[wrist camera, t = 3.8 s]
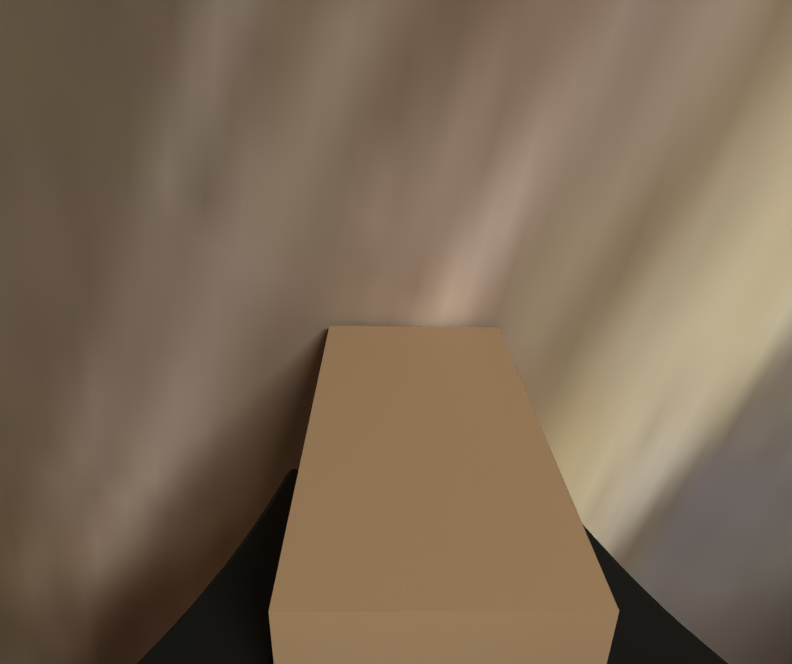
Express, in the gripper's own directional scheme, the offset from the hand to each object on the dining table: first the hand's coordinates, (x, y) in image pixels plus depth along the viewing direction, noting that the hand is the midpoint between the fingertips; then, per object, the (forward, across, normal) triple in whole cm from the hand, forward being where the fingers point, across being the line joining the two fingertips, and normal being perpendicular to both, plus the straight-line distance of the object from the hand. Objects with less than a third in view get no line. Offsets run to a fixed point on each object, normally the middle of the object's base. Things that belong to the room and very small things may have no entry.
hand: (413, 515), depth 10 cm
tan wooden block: (+1, 0, 0) cm, 1 cm away
